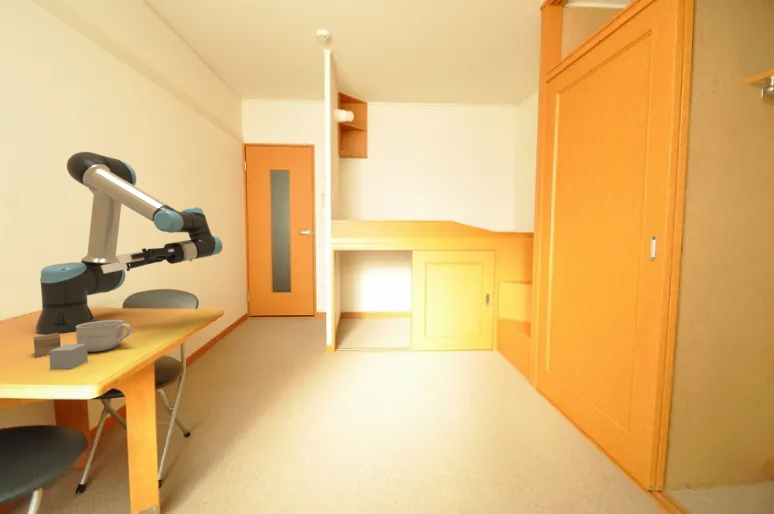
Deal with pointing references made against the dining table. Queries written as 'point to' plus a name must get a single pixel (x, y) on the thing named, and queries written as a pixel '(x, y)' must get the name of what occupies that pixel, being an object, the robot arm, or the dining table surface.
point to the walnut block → (46, 344)
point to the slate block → (68, 356)
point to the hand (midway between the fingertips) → (109, 264)
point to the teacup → (102, 334)
